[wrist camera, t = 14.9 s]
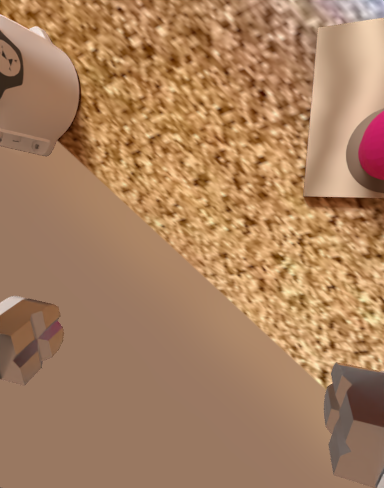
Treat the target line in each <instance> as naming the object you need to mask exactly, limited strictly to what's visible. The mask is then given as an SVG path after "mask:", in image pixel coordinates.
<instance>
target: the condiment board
mask: <svg viewBox="0 0 384 488" xmlns="http://www.w3.org/2000/svg"><path fill="white" fill-rule="evenodd" d="M382 111H384V18H379V19H372V20H366V21H359V22H353V23H346V24H340V25H333V26H326V27H320V28H318V33H317V43H316V55H315V67H314V78H313V90H312V101H311V113H310V124H309V136H308V147H307V159H306V171H305V182H304V194H303V196H310V197H354V198H384V180H381V179H377V178H374V177H372V176H370V175H369V174H368V173H366V171H365V170H364V169H363V168H362V166H361V164H360V161H359V158H358V150H359V145H360V143H361V141H362V138H363V135H364V132H365V130H366V129H367V127H368V125H369V124H370V123H371V121H372V120H373V119H374V118H375V117H376V116H377V115H378V114H380V113H381V112H382Z"/></svg>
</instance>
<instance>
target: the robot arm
mask: <svg viewBox="0 0 384 488" xmlns="http://www.w3.org/2000/svg"><path fill="white" fill-rule="evenodd" d="M78 102H79V83H78V78H77V74H76V71H75V68H74V66H73V64H72V62H71V60H70V59H69V58H68V56H67V55H66V54H65V53H64V52H63V51H62V50H60V49H59V48H57V47H56V46H55V45H54V44H53V43H52V42H51V40H50V38H49V37H48V35H47V33H46V32H45V31H44V30H43V29H41V28H39V27H37V26H35V27H32V28H30V29H27V28H25V27H23V26H22V25H20V24H18V23H16V22H14V21H12V20H10V19H8V18H6V17H5V16H3V15H1V14H0V146H3V147H7V148H11V149H16V150H20V151H24V152H29V153H33V154H38V155H42V156H49V155H50V154H51V152H52V150H53V148H54V146H55V144H56V141H57V140H58V139H59V138H60V137H61V136H62V135H63V134H64V133H65V132H66V130H67V129H68V128H69V126H70V125H71V123H72V121H73V119H74V117H75V114H76V111H77V107H78ZM38 146H39V148H38ZM59 317H60V312H59V308H58V307H57V306H56V305H53V304H50V303H45V302H41V301H37V300H32V299H26V298H22V297H18V296H12V297H9V298H7V299H6V300H4V301H2V302H1V303H0V379H1V380H6V381H9V382H13V383H17V384H21V385H26V384H27V383H28V381H29V380H30V379H31V378H32V377H33V376H34V375H35V374H36V373H37V372H38V371H39V370H40V369H41V368H42V362H43V361H44V360H47V359H49V358H51V357H52V356H53V355H54V354H55V353H56V352H57V351H58V350H59V348H60V346H61V344H62V342H63V336H64V332H63V327H62V326H61V324H60V323H59V322H58V321H57V320H58V319H59ZM331 376H332V381H333V384H331V385H329V386H328V387H327V390H326V394H325V401H324V417H325V425H326V428H327V429H328V430H329V431H330V433H331V434H332V436H331V439H330V442H329V450H330V455H331V462H332V468H333V474H334V475H335V476H338V477H341V478H345V479H348V480H351V481H354V482H357V483H360V484H364V485H367V486H370V487H373V488H384V371H377V370H372V369H367V368H362V367H357V366H352V365H347V364H342V363H337V362H336V363H335V365H334V366H333V369H332V372H331ZM0 488H1V487H0Z"/></svg>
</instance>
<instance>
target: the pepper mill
mask: <svg viewBox="0 0 384 488" xmlns="http://www.w3.org/2000/svg"><path fill="white" fill-rule="evenodd" d="M358 158H359V161H360V164H361V166H362V168H363V169H364V170H365V171H366V173H368V174H369V175H370V176H372V177H374V178H377V179H381V180H384V111H382V112H381V113H380V114H378V115H377V116H376V117H375V118H374V119H373V120H372V121H371V123H370V124H369V125H368V127H367V129H366V130H365V132H364V135H363V138H362V141H361V143H360V145H359V150H358Z"/></svg>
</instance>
